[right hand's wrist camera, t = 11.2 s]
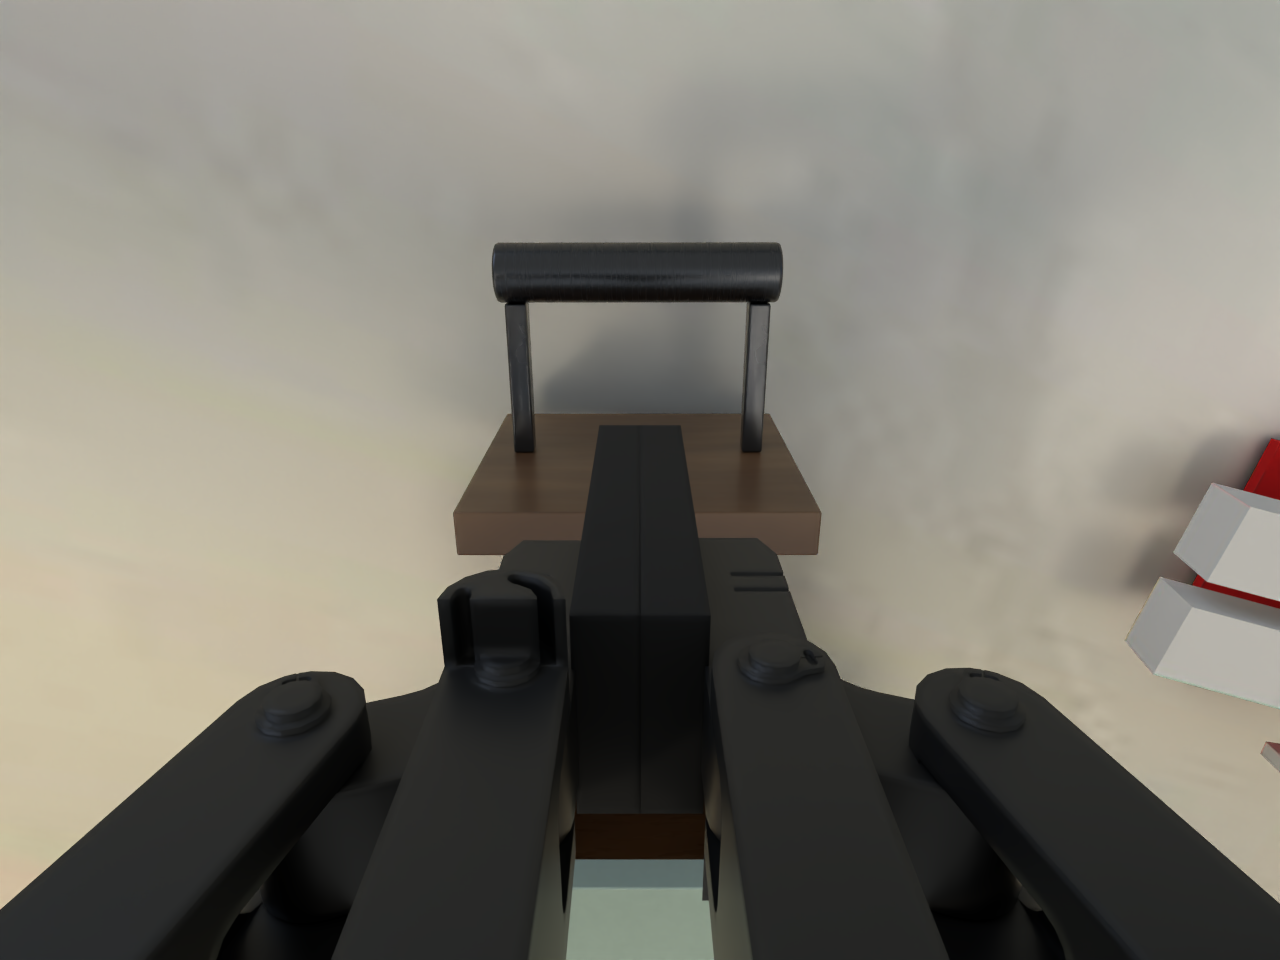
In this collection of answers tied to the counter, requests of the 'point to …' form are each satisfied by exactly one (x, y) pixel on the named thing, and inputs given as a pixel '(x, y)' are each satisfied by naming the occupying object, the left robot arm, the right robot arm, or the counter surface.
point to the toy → (1223, 597)
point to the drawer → (565, 443)
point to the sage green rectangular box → (639, 910)
